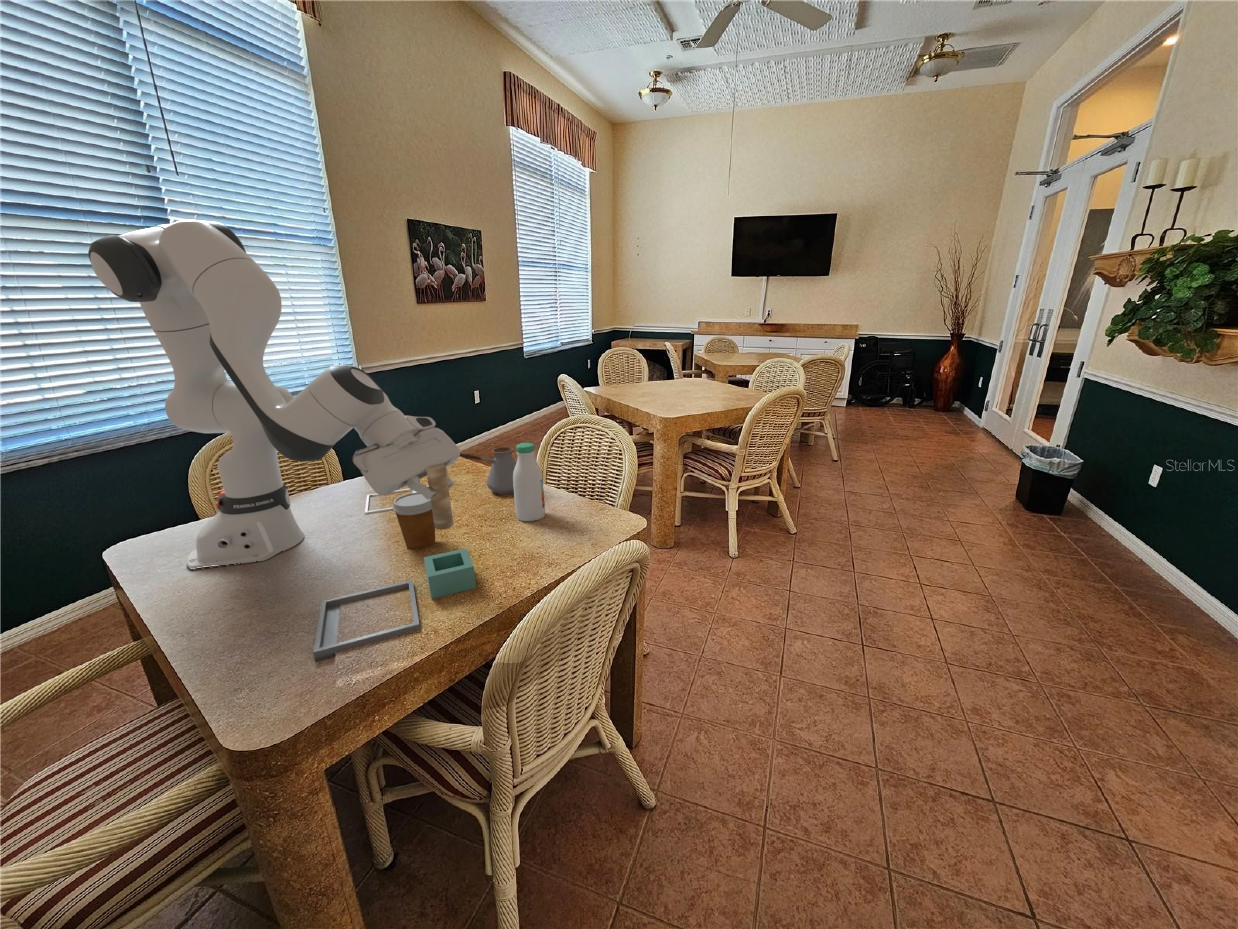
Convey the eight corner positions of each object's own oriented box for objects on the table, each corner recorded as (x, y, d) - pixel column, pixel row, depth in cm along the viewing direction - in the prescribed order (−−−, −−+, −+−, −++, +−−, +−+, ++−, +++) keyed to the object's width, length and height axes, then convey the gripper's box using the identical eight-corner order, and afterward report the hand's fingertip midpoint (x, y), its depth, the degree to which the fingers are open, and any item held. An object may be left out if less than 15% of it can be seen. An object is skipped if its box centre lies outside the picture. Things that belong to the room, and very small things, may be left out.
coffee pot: (516, 480, 159) (512, 435, 154) (531, 491, 150) (527, 443, 145) (449, 495, 147) (443, 447, 143) (462, 508, 138) (455, 457, 134)
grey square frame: (315, 661, 80) (313, 652, 79) (323, 609, 93) (321, 601, 93) (420, 632, 86) (419, 624, 85) (413, 587, 100) (412, 580, 99)
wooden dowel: (435, 530, 94) (426, 471, 90) (433, 523, 97) (425, 466, 93) (454, 527, 95) (446, 469, 91) (452, 520, 98) (444, 463, 94)
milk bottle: (540, 523, 128) (534, 449, 122) (512, 521, 129) (505, 448, 123) (549, 511, 135) (544, 441, 129) (522, 509, 136) (515, 440, 130)
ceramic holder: (432, 602, 95) (427, 577, 93) (427, 581, 102) (423, 557, 100) (477, 591, 98) (473, 566, 96) (469, 571, 105) (466, 548, 104)
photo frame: (433, 500, 142) (364, 512, 135) (434, 504, 142) (365, 515, 136) (430, 484, 155) (366, 494, 148) (430, 488, 155) (367, 497, 148)
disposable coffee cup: (428, 556, 112) (420, 508, 108) (391, 553, 114) (382, 505, 110) (449, 537, 121) (443, 492, 117) (415, 535, 123) (407, 490, 119)
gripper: (354, 442, 83) (408, 503, 83) (437, 415, 101) (482, 465, 101) (340, 465, 86) (392, 523, 86) (423, 434, 104) (466, 483, 104)
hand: (441, 491), depth 94 cm, fingers closed on wooden dowel, 3 cm apart
